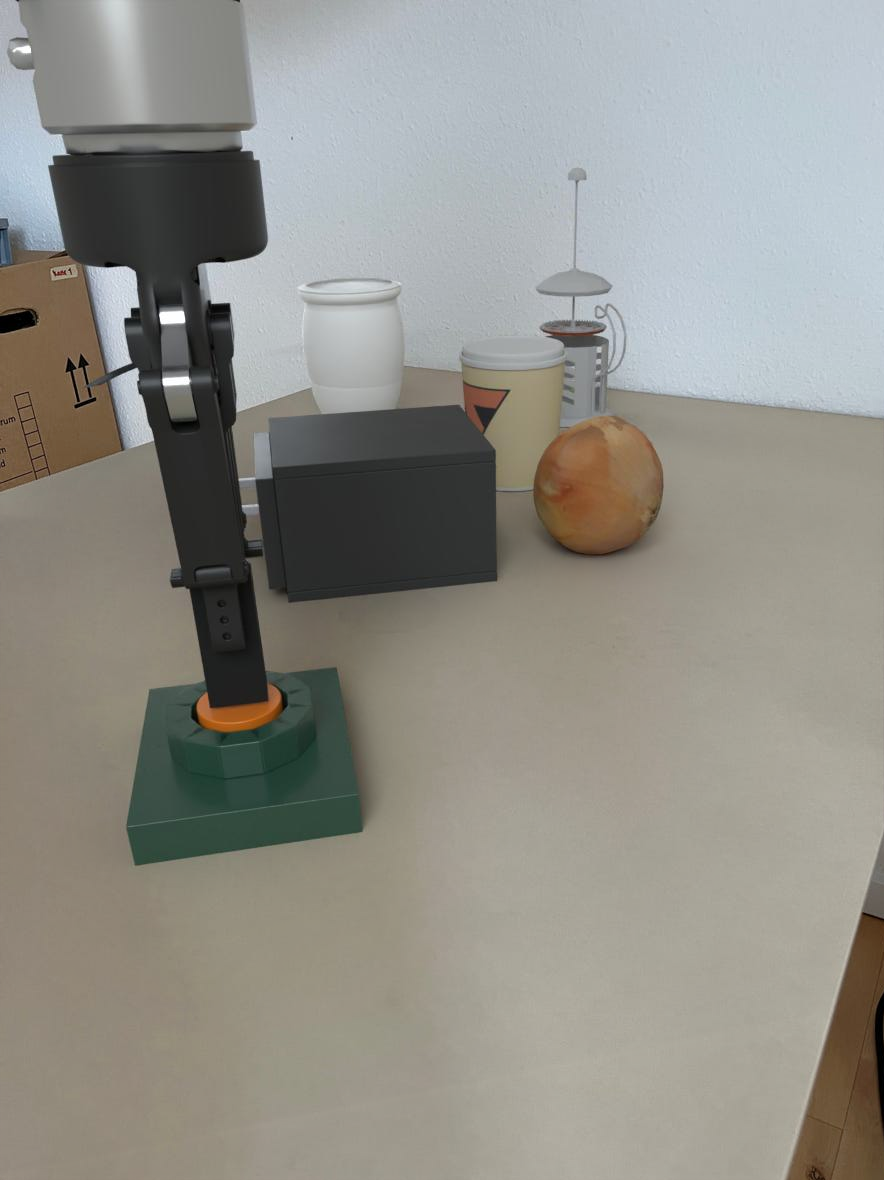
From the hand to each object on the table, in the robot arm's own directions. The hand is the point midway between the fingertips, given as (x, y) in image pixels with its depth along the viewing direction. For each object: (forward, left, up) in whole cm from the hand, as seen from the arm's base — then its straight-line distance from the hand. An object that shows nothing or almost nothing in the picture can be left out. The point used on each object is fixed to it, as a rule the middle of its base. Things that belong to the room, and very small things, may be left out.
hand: (239, 696), depth 47 cm
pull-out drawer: (-26, +6, -4) cm, 27 cm away
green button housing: (0, 0, -5) cm, 5 cm away
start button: (0, 0, -2) cm, 2 cm away
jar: (-62, +12, -5) cm, 63 cm away
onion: (-24, +26, -5) cm, 36 cm away
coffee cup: (-42, +24, -5) cm, 49 cm away
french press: (-61, +36, -5) cm, 71 cm away
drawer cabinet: (-26, +10, -5) cm, 28 cm away
